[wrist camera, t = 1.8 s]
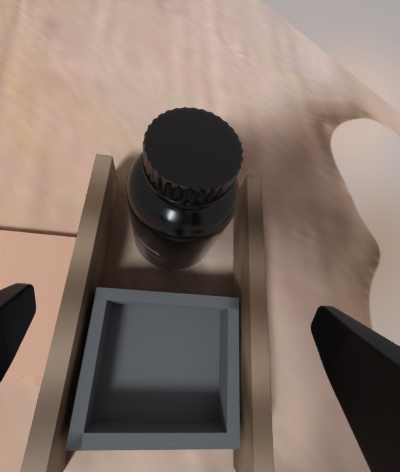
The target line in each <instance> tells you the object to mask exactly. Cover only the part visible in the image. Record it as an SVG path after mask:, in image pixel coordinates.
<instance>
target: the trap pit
mask: <svg viewBox="0 0 400 472" xmlns="http://www.w3.org/2000/svg"><path fill="white" fill-rule="evenodd" d="M176 449H240V405H239V298H236V297H223V296H209V295H196V294H183V293H169V292H156V291H143V290H129V289H116V288H102V287H97V288H96V294H95V299H94V304H93V309H92V314H91V319H90V325H89V330H88V335H87V340H86V345H85V350H84V356H83V361H82V366H81V371H80V376H79V382H78V387H77V392H76V397H75V402H74V407H73V413H72V418H71V423H70V428H69V433H68V438H67V444H66V449H65V451H75V450H176Z"/></svg>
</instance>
